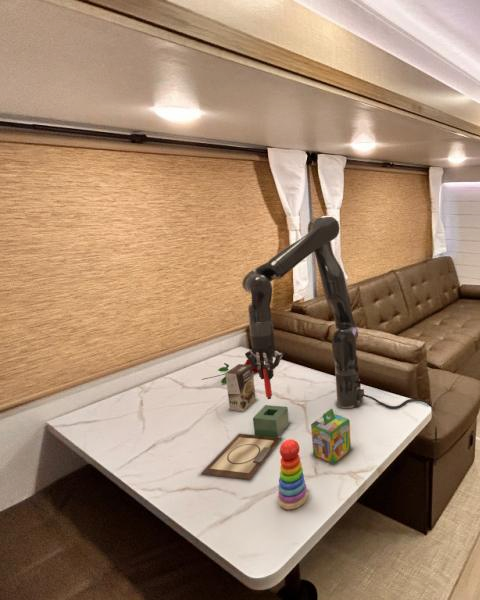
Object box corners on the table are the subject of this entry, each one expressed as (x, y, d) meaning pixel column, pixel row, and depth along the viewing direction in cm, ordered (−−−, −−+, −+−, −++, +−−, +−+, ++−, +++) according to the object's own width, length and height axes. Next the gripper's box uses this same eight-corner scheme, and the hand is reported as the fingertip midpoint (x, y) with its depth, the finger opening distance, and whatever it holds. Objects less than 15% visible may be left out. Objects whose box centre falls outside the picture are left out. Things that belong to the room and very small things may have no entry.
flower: (204, 367, 161) (265, 350, 185) (195, 371, 167) (256, 355, 190) (210, 387, 160) (271, 368, 184) (201, 391, 166) (261, 372, 189)
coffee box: (243, 411, 147) (239, 374, 143) (229, 410, 149) (224, 373, 144) (256, 400, 156) (252, 364, 152) (243, 398, 157) (238, 363, 153)
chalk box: (333, 465, 117) (330, 423, 113) (312, 455, 122) (309, 415, 118) (352, 449, 124) (350, 409, 121) (331, 440, 129) (329, 402, 125)
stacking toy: (274, 511, 100) (267, 450, 95) (283, 488, 107) (277, 431, 103) (304, 510, 100) (298, 450, 95) (310, 488, 107) (306, 431, 103)
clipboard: (281, 439, 130) (281, 436, 130) (250, 480, 111) (249, 476, 111) (239, 435, 132) (238, 431, 132) (201, 474, 113) (200, 470, 113)
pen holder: (289, 423, 139) (287, 406, 137) (277, 437, 131) (276, 420, 129) (267, 421, 141) (265, 404, 139) (254, 435, 132) (252, 418, 130)
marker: (273, 397, 134) (269, 364, 130) (270, 400, 132) (266, 367, 128) (268, 396, 134) (263, 363, 130) (265, 399, 132) (260, 366, 128)
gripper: (236, 334, 124) (242, 382, 128) (275, 336, 121) (280, 385, 126) (249, 327, 131) (254, 372, 135) (286, 329, 129) (290, 375, 133)
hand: (266, 378), depth 131 cm, fingers closed on marker, 2 cm apart
